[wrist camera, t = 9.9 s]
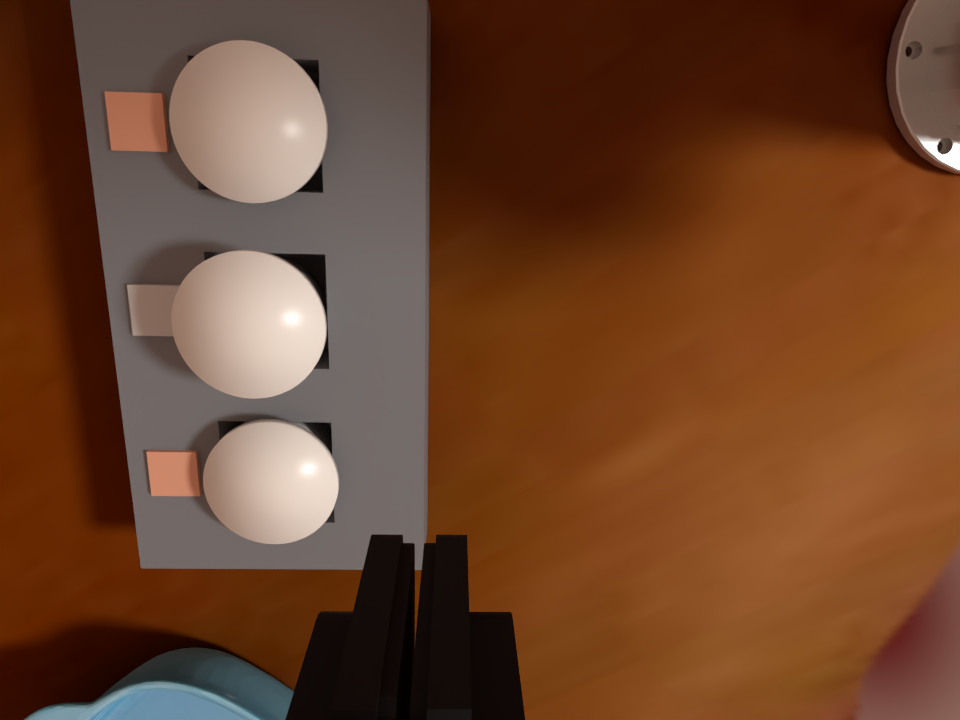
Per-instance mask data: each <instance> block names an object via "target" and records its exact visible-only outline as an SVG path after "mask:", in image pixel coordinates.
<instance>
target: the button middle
mask: <svg viewBox="0 0 960 720" xmlns="http://www.w3.org/2000/svg"><path fill="white" fill-rule="evenodd" d="M171 322H172V331H173V336H174V339H175V343H176V346H177V348H178V350H179V352H180V354H181V356H182V358H183V359H184V361H185V362H186V364H187V365H188V366H189V367H190V369H191V370H192V371H193V372H194V373H195V374H196V375H197V376H198V377H199V378H200V379H202V380H203V381H204V382H205V383H207V384H208V385H210V386H212V387H213V388H215V389H217V390H219V391H221V392H224V393H226V394H229V395H232V396H236V397H241V398H251V399H257V398H267V397H273V396H276V395H279V394H282V393H284V392H287V391H289V390H291V389H292V388H294V387H295V386H297V385H298V384H300V383H301V382H302V381H303V380H304V379H305V378H306V377H307V376H308V375H309V374H310V373H311V371H312V370H313V369H314V367H315V366H316V364H317V363H318V361H319V359H320V357H321V355H322V353H323V350H324V346H325V343H326V337H327V320H326V314H325V302H324V296H323V293H322V290H321V287H320V286H319V284H318V282H317V281H316V279H315V278H314V276H313V275H312V274H311V273H310V272H309V271H308V270H306V269H305V268H304V267H302V266H301V265H299V264H297V263H295V262H293V261H290V260H287V259H282V258H280V257H278V256H275V255H273V254H270V253H267V252H262V251H257V250H235V251H229V252H225V253H222V254H219V255H216V256H213V257H211V258H209V259H207V260H205V261H204V262H202V263H201V264H199V265H198V266H196V267H195V268H194V269H193V270H192V271H191V272H190V273H189V274H188V275H187V276H186V277H185V279H184V280H183V281H182V283H181V285H180V286H179V288H178V290H177V293H176V295H175V298H174V302H173V306H172V314H171Z"/></svg>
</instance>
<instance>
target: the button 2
mask: <svg viewBox="0 0 960 720" xmlns="http://www.w3.org/2000/svg"><path fill="white" fill-rule="evenodd" d="M203 487H204V493H205V496H206V499H207V502H208V504H209V506H210V508H211V509H212V511H213V513H214V514H215V515H216V517H217V518H218V519H219V520H220V521H221V522H222V523H223V524H224V525H225V526H226V527H227V528H229V529H230V530H231V531H233V532H234V533H236V534H238V535H239V536H241V537H244V538H246V539H248V540H252V541H255V542H259V543H264V544H285V543H291V542H294V541H298V540H300V539H303V538H305V537H307V536H309V535H310V534H312V533H314V532H315V531H316V530H317V529H319V528H320V527H321V526H322V525H323V524H324V523H325V522H326V520H327V519H328V517H329V516H330V514H331V512H332V510H333V508H334V505H335V503H336V500H337V497H338V492H339V473H338V469H337V465H336V463H335V460H334V458H333V456H332V433H331V427H330V426H329V424H328V423H320V422H288V421H283V420H276V419H261V420H255V421H250V422H247V423H244V424H242V425H240V426H237V427H236V428H234V429H232V430H231V431H229V432H228V433H227V434H226V435H225V436H223V437H222V439H221V440H220V441H219V442H218V443H217V444H216V445H215V447H214V448H213V449H212V451H211V452H210V454H209V456H208V458H207V461H206V464H205V467H204V473H203Z"/></svg>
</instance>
